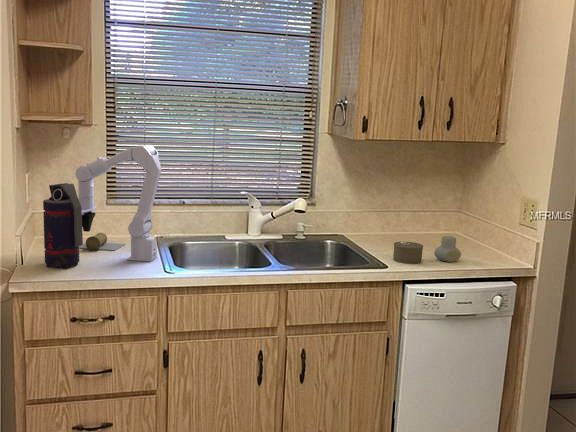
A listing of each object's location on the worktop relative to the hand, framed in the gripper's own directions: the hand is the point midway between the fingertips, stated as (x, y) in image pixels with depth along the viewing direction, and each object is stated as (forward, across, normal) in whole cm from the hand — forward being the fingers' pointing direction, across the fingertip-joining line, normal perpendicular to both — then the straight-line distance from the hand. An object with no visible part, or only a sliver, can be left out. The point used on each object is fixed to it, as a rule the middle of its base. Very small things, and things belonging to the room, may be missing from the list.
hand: (86, 231), depth 238 cm
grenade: (+10, +18, -1) cm, 20 cm away
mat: (+9, -14, 0) cm, 17 cm away
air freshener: (+10, -30, +144) cm, 147 cm away
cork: (+6, -6, 0) cm, 9 cm away
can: (+10, -25, +127) cm, 130 cm away
